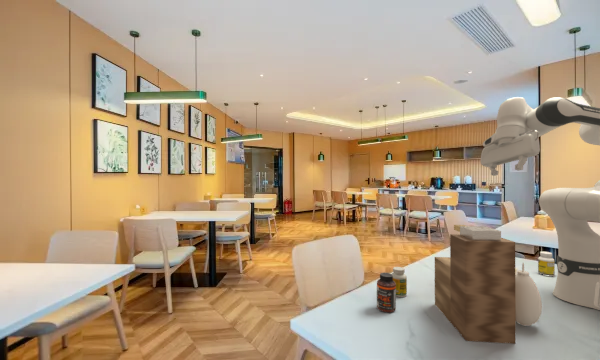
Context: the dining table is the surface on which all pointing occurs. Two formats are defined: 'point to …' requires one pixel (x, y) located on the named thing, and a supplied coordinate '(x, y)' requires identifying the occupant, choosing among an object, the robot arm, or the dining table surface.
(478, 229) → the lever cap
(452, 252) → the stepped stand
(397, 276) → the supplement bottle
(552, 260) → the supplement bottle
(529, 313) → the sauce bottle
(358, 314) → the dining table surface
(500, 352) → the dining table surface
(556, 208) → the robot arm
